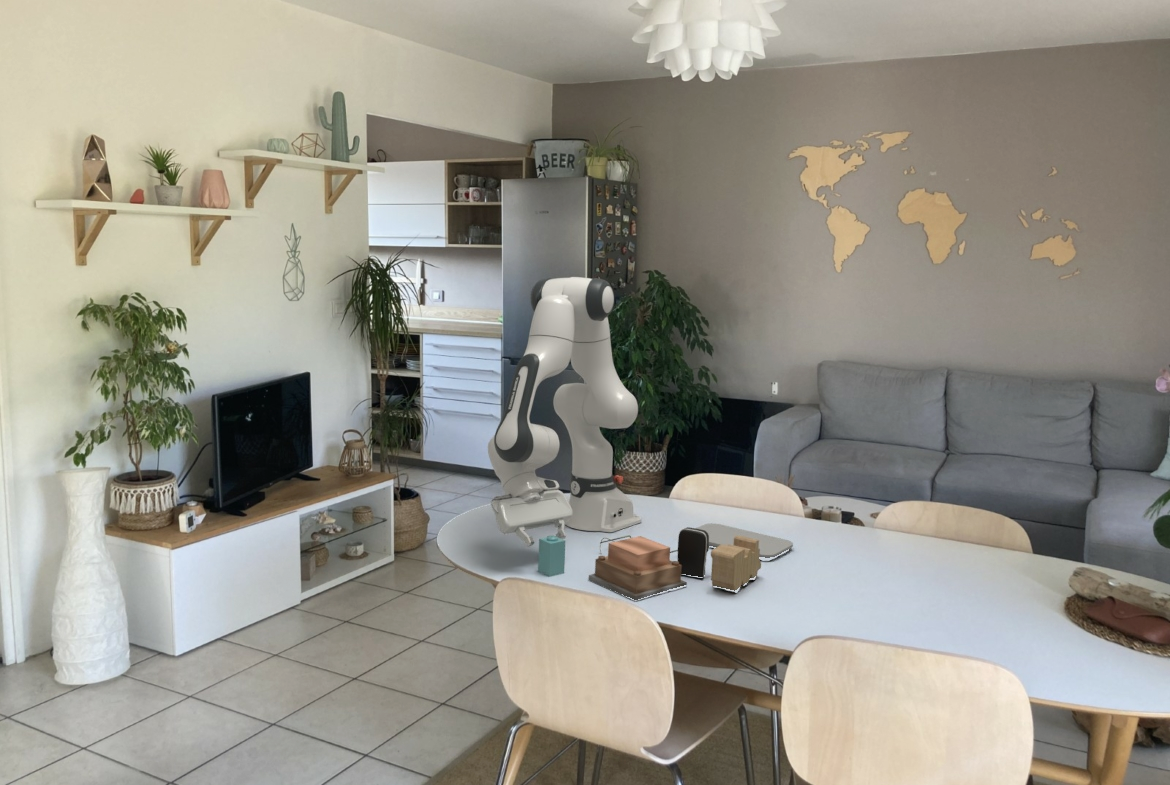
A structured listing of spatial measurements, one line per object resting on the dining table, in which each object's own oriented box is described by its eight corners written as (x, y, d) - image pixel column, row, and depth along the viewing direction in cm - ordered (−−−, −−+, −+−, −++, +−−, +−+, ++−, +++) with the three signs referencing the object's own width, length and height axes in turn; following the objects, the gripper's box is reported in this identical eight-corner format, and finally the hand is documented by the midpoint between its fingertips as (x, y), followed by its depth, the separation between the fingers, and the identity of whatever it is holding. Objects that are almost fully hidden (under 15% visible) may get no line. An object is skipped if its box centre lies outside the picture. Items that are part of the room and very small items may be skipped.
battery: (708, 575, 224) (711, 529, 223) (703, 580, 221) (706, 533, 219) (680, 570, 227) (683, 524, 226) (675, 574, 224) (678, 528, 222)
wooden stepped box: (638, 567, 228) (640, 530, 227) (686, 587, 216) (688, 548, 214) (588, 580, 218) (590, 541, 216) (635, 601, 206) (637, 561, 204)
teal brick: (552, 567, 225) (554, 533, 224) (564, 573, 222) (565, 538, 220) (538, 571, 222) (539, 536, 221) (549, 576, 219) (550, 541, 218)
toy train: (760, 577, 225) (763, 537, 223) (730, 597, 211) (733, 555, 209) (738, 572, 228) (741, 532, 226) (708, 592, 214) (710, 549, 212)
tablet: (709, 529, 263) (710, 522, 263) (796, 550, 248) (797, 542, 247) (679, 542, 250) (680, 534, 250) (769, 565, 235) (769, 556, 234)
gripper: (494, 490, 219) (516, 542, 213) (562, 480, 232) (586, 528, 226) (482, 504, 223) (504, 555, 217) (550, 493, 236) (573, 541, 230)
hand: (546, 541), depth 222 cm, fingers open, 8 cm apart
